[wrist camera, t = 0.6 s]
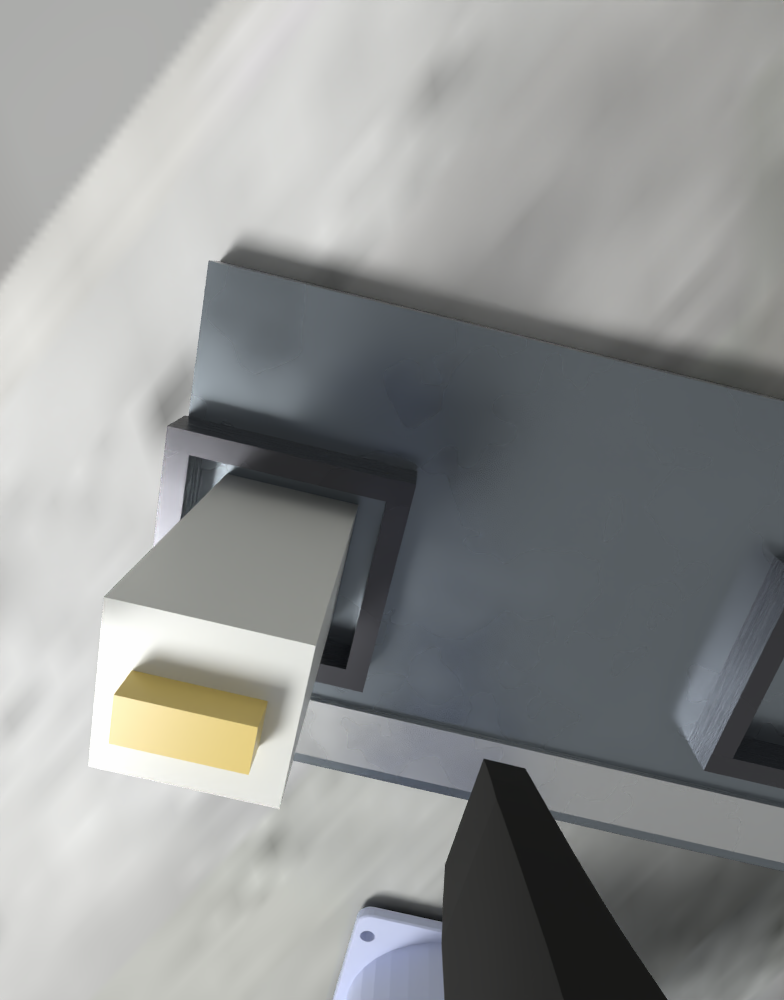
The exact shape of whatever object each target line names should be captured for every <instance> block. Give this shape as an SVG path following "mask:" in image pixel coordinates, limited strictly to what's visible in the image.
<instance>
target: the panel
mask: <svg viewBox="0 0 784 1000" xmlns="http://www.w3.org/2000/svg"><path fill="white" fill-rule="evenodd" d="M226 474H230V475H234V476H238V477H242V478H247V479H251V480H255V481H259V482H264V483H268V484H272V485H276V486H280V487H285V488H289V489H293V490H297V491H302V492H306V493H310V494H314V495H318V496H323V497H327V498H331V499H335V500H339V501H344V502H348V503H352V504H356V505H358V509H357V513H356V517H355V522H354V526H353V531H352V535H351V539H350V544H349V548H348V552H347V557H346V561H345V565H344V570H343V574H342V579H341V583H340V587H339V592H338V596H337V600H336V605H335V609H334V613H333V618H332V622H331V625H330V629H329V633H328V636H327V640H326V643H325V647H324V651H323V654H322V658H321V661H320V665H319V669H318V672H317V676H316V679H315V683H314V686H313V690H312V694H311V697H310V701H309V704H308V708H307V712H306V715H305V719H304V722H303V726H302V730H301V733H300V737H299V740H298V744H297V748H296V751H295V755H294V758H293V761H298V762H302V763H307V764H311V765H315V766H320V767H324V768H329V769H333V770H338V771H342V772H346V773H351V774H355V775H360V776H364V777H368V778H373V779H377V780H382V781H386V782H391V783H395V784H399V785H404V786H408V787H413V788H417V789H422V790H426V791H430V792H435V793H439V794H444V795H448V796H453V797H457V798H461V799H466V800H469V797H470V795H471V792H472V789H473V786H474V784H475V781H476V778H477V775H478V772H479V770H480V767H481V764H482V761H483V759H488V760H492V761H496V762H501V763H505V764H509V765H513V766H517V767H522V768H525V769H526V770H527V772H528V774H529V776H530V777H531V779H532V781H533V783H534V784H535V786H536V788H537V789H538V791H539V793H540V795H541V797H542V798H543V800H544V802H545V804H546V805H547V807H548V809H549V811H550V812H551V814H552V816H553V818H554V819H555V820H559V821H563V822H568V823H572V824H576V825H581V826H585V827H590V828H594V829H599V830H603V831H607V832H612V833H616V834H621V835H625V836H629V837H634V838H638V839H643V840H647V841H652V842H656V843H660V844H665V845H669V846H674V847H678V848H683V849H687V850H691V851H696V852H700V853H705V854H709V855H714V856H718V857H722V858H727V859H731V860H736V861H740V862H744V863H749V864H753V865H758V866H762V867H767V868H771V869H775V870H780V871H784V400H782V399H778V398H774V397H770V396H766V395H762V394H758V393H754V392H750V391H746V390H742V389H738V388H734V387H729V386H725V385H721V384H717V383H713V382H709V381H705V380H701V379H697V378H693V377H689V376H685V375H681V374H677V373H672V372H668V371H664V370H660V369H656V368H652V367H648V366H644V365H640V364H636V363H632V362H628V361H624V360H619V359H615V358H611V357H607V356H603V355H599V354H595V353H591V352H587V351H583V350H579V349H575V348H571V347H566V346H562V345H558V344H554V343H550V342H546V341H542V340H538V339H534V338H530V337H526V336H522V335H518V334H514V333H509V332H505V331H501V330H497V329H493V328H489V327H485V326H481V325H477V324H473V323H469V322H465V321H461V320H456V319H452V318H448V317H444V316H440V315H436V314H432V313H428V312H424V311H420V310H416V309H412V308H408V307H404V306H399V305H395V304H391V303H387V302H383V301H379V300H375V299H371V298H367V297H363V296H359V295H355V294H351V293H346V292H342V291H338V290H334V289H330V288H326V287H322V286H318V285H314V284H310V283H306V282H302V281H298V280H293V279H289V278H285V277H281V276H277V275H273V274H269V273H265V272H261V271H257V270H253V269H249V268H245V267H241V266H236V265H232V264H228V263H224V262H220V261H209V262H208V270H207V278H206V286H205V293H204V301H203V309H202V317H201V324H200V332H199V340H198V348H197V356H196V363H195V371H194V379H193V387H192V395H191V402H190V410H189V416H183V417H182V418H180V419H178V420H177V421H175V422H173V423H172V424H170V425H168V426H167V434H166V443H165V451H164V460H163V468H162V477H161V485H160V494H159V502H158V511H157V519H156V528H155V536H154V545H153V547H154V546H155V545H156V544H157V543H158V542H159V541H160V540H161V539H162V538H163V537H164V536H165V535H166V534H167V533H168V532H169V531H170V530H171V529H172V528H173V527H174V526H175V525H176V524H177V523H178V522H179V521H180V520H181V519H182V518H183V517H184V516H185V515H186V514H187V513H188V512H189V511H190V510H191V509H192V508H193V507H194V506H195V505H196V504H197V503H198V502H199V501H200V500H201V499H202V498H203V497H204V496H205V495H206V494H207V493H208V492H209V491H210V490H211V489H212V488H213V487H214V486H215V485H216V484H217V483H218V482H219V481H220V480H221V479H222V478H223V477H224V476H225V475H226Z"/></svg>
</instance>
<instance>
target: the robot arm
mask: <svg viewBox="0 0 784 1000" xmlns="http://www.w3.org/2000/svg"><path fill="white" fill-rule="evenodd" d="M332 1000H667V998H666V997H665V995H664V994H663V992H662V991H661V989H660V988H659V986H658V985H657V983H656V982H655V981H654V979H653V978H652V976H651V975H650V973H649V972H648V970H647V969H646V967H645V966H644V964H643V963H642V961H641V960H640V959H639V957H638V956H637V954H636V953H635V951H634V950H633V948H632V947H631V945H630V944H629V942H628V941H627V939H626V937H625V936H624V934H623V933H622V931H621V930H620V928H619V927H618V925H617V923H616V922H615V920H614V919H613V917H612V915H611V914H610V912H609V911H608V909H607V907H606V906H605V904H604V902H603V901H602V899H601V898H600V896H599V894H598V893H597V891H596V889H595V888H594V886H593V885H592V883H591V881H590V880H589V878H588V876H587V875H586V873H585V871H584V870H583V868H582V866H581V864H580V863H579V861H578V859H577V858H576V856H575V854H574V853H573V851H572V849H571V847H570V846H569V844H568V842H567V840H566V839H565V837H564V835H563V833H562V832H561V830H560V828H559V826H558V825H557V823H556V821H555V819H554V818H553V816H552V814H551V812H550V811H549V809H548V807H547V805H546V804H545V802H544V800H543V798H542V797H541V795H540V793H539V791H538V789H537V788H536V786H535V784H534V783H533V781H532V779H531V777H530V776H529V774H528V772H527V770H526V769H525V768H522V767H517V766H513V765H509V764H505V763H501V762H496V761H492V760H488V759H483V761H482V764H481V767H480V770H479V772H478V775H477V778H476V781H475V784H474V786H473V789H472V792H471V795H470V797H469V800H468V803H467V806H466V808H465V811H464V814H463V817H462V819H461V822H460V825H459V828H458V831H457V833H456V836H455V839H454V842H453V844H452V847H451V850H450V853H449V855H448V858H447V861H446V864H445V876H444V894H443V915H442V922H440V921H436V920H431V919H427V918H422V917H418V916H413V915H409V914H404V913H399V912H395V911H390V910H386V909H381V908H377V907H365V908H363V909H361V910H360V911H359V913H358V914H357V918H356V921H355V925H354V928H353V931H352V935H351V938H350V941H349V945H348V948H347V952H346V955H345V958H344V962H343V965H342V969H341V972H340V975H339V979H338V982H337V985H336V989H335V992H334V996H333V999H332Z"/></svg>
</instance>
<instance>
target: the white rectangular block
mask: <svg viewBox="0 0 784 1000" xmlns="http://www.w3.org/2000/svg"><path fill="white" fill-rule="evenodd" d="M357 509H358V505H356V504H352V503H348V502H344V501H339V500H335V499H331V498H327V497H323V496H318V495H314V494H310V493H306V492H302V491H297V490H293V489H289V488H285V487H280V486H276V485H272V484H268V483H264V482H259V481H255V480H251V479H247V478H242V477H238V476H234V475H230V474H226V475H225V476H224V477H223V478H222V479H221V480H220V481H219V482H218V483H217V484H216V485H215V486H214V487H213V488H212V489H211V490H210V491H209V492H208V493H207V494H206V495H205V496H204V497H203V498H202V499H201V500H200V501H199V502H198V503H197V504H196V505H195V506H194V507H193V508H192V509H191V510H190V511H189V512H188V513H187V514H186V515H185V516H184V517H183V518H182V519H181V520H180V521H179V522H178V523H177V524H176V525H175V526H174V527H173V528H172V529H171V530H170V531H169V532H168V533H167V534H166V535H165V536H164V537H163V538H162V539H161V540H160V541H159V542H158V543H157V544H156V545H155V546H154V547H153V548H152V549H151V550H150V551H149V552H148V553H147V554H146V555H145V556H144V557H143V558H142V559H141V560H140V561H139V562H138V563H137V564H136V565H135V566H134V567H133V568H132V569H131V570H130V571H129V572H128V573H127V574H126V575H125V576H124V577H123V578H122V579H121V580H120V581H119V582H118V583H117V584H116V585H115V586H114V587H113V588H112V589H111V590H110V591H109V592H108V593H107V594H106V595H105V596H104V601H103V611H102V622H101V633H100V644H99V655H98V666H97V677H96V687H95V698H94V709H93V720H92V731H91V742H90V753H89V763H88V766H89V767H93V768H98V769H102V770H107V771H111V772H116V773H120V774H124V775H129V776H133V777H138V778H142V779H147V780H151V781H156V782H160V783H165V784H169V785H174V786H178V787H183V788H187V789H191V790H196V791H200V792H205V793H209V794H214V795H218V796H223V797H227V798H232V799H236V800H241V801H245V802H250V803H254V804H258V805H263V806H267V807H272V808H276V809H280V805H281V801H282V798H283V794H284V791H285V787H286V784H287V780H288V776H289V773H290V769H291V766H292V762H293V758H294V755H295V751H296V748H297V744H298V740H299V737H300V733H301V730H302V726H303V722H304V719H305V715H306V712H307V708H308V704H309V701H310V697H311V694H312V690H313V686H314V683H315V679H316V676H317V672H318V669H319V665H320V661H321V658H322V654H323V651H324V647H325V643H326V640H327V636H328V633H329V629H330V625H331V622H332V618H333V613H334V609H335V605H336V600H337V596H338V592H339V587H340V583H341V579H342V574H343V570H344V565H345V561H346V557H347V552H348V548H349V544H350V539H351V535H352V531H353V526H354V522H355V517H356V513H357Z"/></svg>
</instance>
